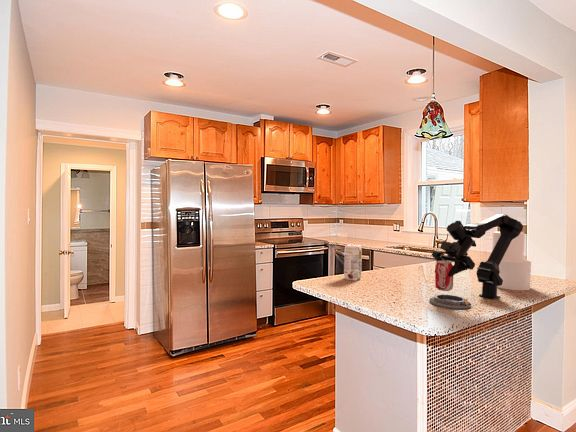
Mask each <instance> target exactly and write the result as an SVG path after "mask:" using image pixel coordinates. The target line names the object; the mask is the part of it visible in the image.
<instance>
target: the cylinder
mask: <svg viewBox="0 0 576 432" xmlns="http://www.w3.org/2000/svg"><path fill="white" fill-rule="evenodd" d="M500 235H501V234H500V231H493V232H492V251H493V249H494V247H495V245H496V243H497V241H498V239H499V237H500ZM492 251H491V252H492ZM524 253H525V232H524V231H521V233H520V234H519V236H517V237H516V238H514V239H513V240H512V241H511V243H510V245H509V247H508V249H507V251H506V253H505V254H504V256H503V258H502V260H501V262H500V264H499V270H500V273H499V276H500V277H501V279H502V280H503V283H502V285H500V286H497V288H500V289H504V290H505V289H506V290H511V291H529V290H530V289H531V274H532V273H531V272H532V261H531V260H528V259H525V258H524V256H525V254H524Z"/></svg>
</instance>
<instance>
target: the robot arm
mask: <svg viewBox="0 0 576 432" xmlns="http://www.w3.org/2000/svg"><path fill="white" fill-rule="evenodd" d="M497 227H498V228H499V232H500V234H501V235H500V237H499V239H498V241H497V243H496V245H495V247H494V249H493V251H491V253H490V255H489V256H488V258H487V260H486V261H480V262H479V264H478V265H479V266H478V267H477V268H476V278H477V282H478V283H482V288H481V294H478V296H479V297H483V298H486V299H491V300H495V299H499V298H501V296H500V295H498V287H497V286H500V285H502V283H503V280H502V279H501V277H500V276H499V273H500V270H499V264H500V262H501V260H502V258H503V256H504V254H505V253H506V251H507V249H508V247H509V245H510V243H511V241H512V240H513V239H514V238H516V237H517V236H519V234H520V233H521V232H523V229H524V225H523V224H522V222H521V221H519V220H518V219H516V218H513V217H512V216H509V215H508V214H504V213H497V214H494V215H493V216H491V217H489V218H487V219H484V220H482V221H479V222H475V223H474V222H473V223H472V222H471V223H468V224H465V225H464V224H462V221H461V220H455V221H454V222H452V223H450V224H448V225H447V227H446V231H447V232H448V234H449V235H450V237H452V239H453V240H454V241H453V242H450V241H445V240H443V241H441V244H440V247H439V249H441V250H443V251H444V253H443V251H439V250H433V252H432V253H431V257H433V259H434V260H435V261H436V263H435V265H436V264H437V261H450V262H452V263H453V264H454V265H453V267H452V269H451V270H450V272H449V274H448V276H449V277H451V276H453V277H454V275H457V274H459V273H463V271H467V270H473V269H474V268H475V266H476V263H475V262H474V260H473V259H472V258H471V257H470V256H469V253H468V251H469V250H470V249H471V247H475V248H476V247H477V243H476V240H474V239H473V238H475V239H480V238H482V237H483V236H484V235H486V233H487V232H488V231H489V230H491V229H494V228H497ZM445 254H446V255H445Z"/></svg>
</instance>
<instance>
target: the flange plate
mask: <svg viewBox="0 0 576 432" xmlns="http://www.w3.org/2000/svg"><path fill="white" fill-rule="evenodd" d="M468 299H469V298H466V297H462V296H459V295H455V294H445V293H444V294H440V293H439V294H434V296H433V297H430V298H429V300H428V301H429V303H430V304H431V305H433V306H435V307H438V308H442V309H447V310H467V309H471V308H472V303H471V301H468Z"/></svg>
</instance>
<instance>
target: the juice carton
mask: <svg viewBox="0 0 576 432" xmlns="http://www.w3.org/2000/svg"><path fill="white" fill-rule="evenodd" d="M362 249H363V248H362V245H358V244H357V245H356V244H352V243H349V244H345V246H344V251H343V252H344V255H343V258H344V259H343V260H344V261H343V276H344V280H346V281H347V280H348V281H355V282H356V281H359V280H361V277H362V262H363V261H362V259H363V257H362V256H363V251H362Z"/></svg>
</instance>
